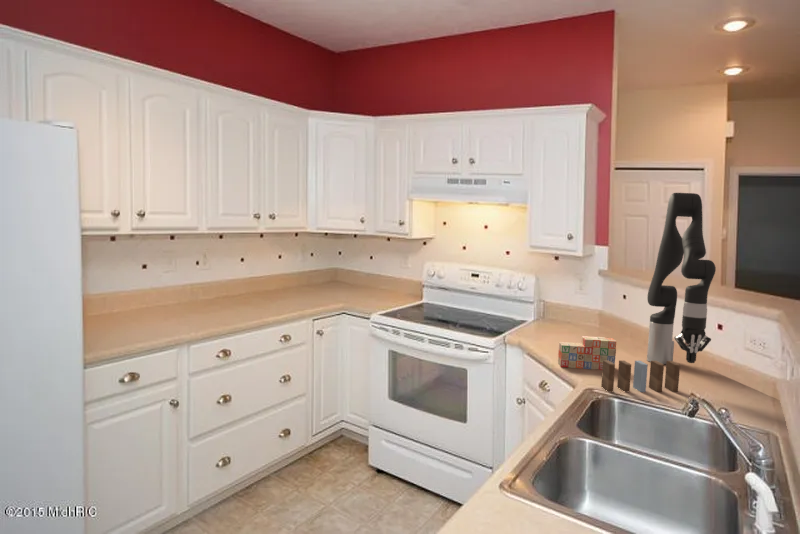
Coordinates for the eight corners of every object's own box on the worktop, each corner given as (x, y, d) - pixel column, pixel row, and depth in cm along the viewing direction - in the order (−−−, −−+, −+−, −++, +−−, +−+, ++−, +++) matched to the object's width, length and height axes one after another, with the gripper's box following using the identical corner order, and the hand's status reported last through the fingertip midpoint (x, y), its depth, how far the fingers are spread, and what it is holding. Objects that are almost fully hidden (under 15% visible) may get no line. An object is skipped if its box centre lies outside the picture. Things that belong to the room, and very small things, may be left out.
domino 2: (638, 387, 193) (640, 360, 192) (645, 391, 188) (647, 364, 187) (632, 387, 193) (634, 360, 192) (640, 391, 188) (642, 364, 187)
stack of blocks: (560, 367, 217) (562, 337, 215) (557, 363, 223) (559, 334, 222) (614, 370, 214) (616, 341, 213) (610, 366, 220) (612, 337, 219)
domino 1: (622, 387, 193) (624, 360, 192) (629, 391, 188) (631, 364, 187) (617, 387, 193) (619, 360, 192) (623, 391, 188) (626, 364, 187)
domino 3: (654, 387, 194) (656, 360, 193) (661, 392, 189) (664, 364, 188) (648, 387, 194) (650, 360, 193) (656, 392, 189) (658, 364, 188)
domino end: (606, 387, 192) (608, 360, 191) (613, 391, 187) (615, 364, 186) (601, 387, 192) (603, 360, 191) (607, 391, 187) (609, 364, 186)
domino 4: (669, 387, 194) (671, 360, 193) (677, 392, 189) (680, 364, 188) (664, 387, 194) (666, 360, 193) (672, 392, 189) (674, 364, 188)
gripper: (683, 316, 185) (679, 365, 187) (719, 317, 186) (715, 365, 188) (670, 313, 193) (667, 359, 194) (705, 313, 194) (701, 360, 195)
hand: (690, 362), depth 191 cm, fingers closed
